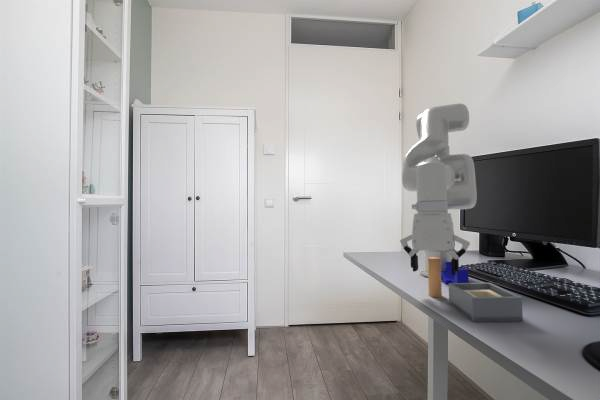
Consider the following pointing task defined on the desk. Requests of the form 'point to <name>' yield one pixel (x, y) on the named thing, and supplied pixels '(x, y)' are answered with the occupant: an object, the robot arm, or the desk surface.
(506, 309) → the box
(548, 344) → the desk surface
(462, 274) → the cable clip
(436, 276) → the peg
